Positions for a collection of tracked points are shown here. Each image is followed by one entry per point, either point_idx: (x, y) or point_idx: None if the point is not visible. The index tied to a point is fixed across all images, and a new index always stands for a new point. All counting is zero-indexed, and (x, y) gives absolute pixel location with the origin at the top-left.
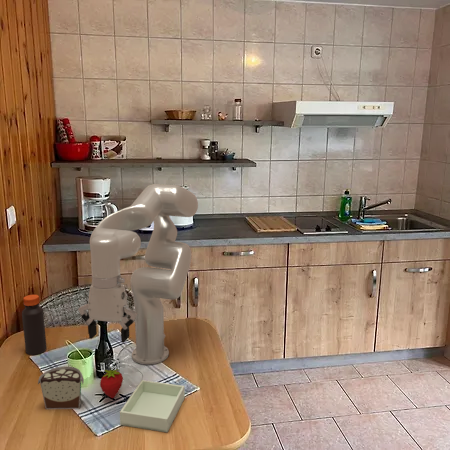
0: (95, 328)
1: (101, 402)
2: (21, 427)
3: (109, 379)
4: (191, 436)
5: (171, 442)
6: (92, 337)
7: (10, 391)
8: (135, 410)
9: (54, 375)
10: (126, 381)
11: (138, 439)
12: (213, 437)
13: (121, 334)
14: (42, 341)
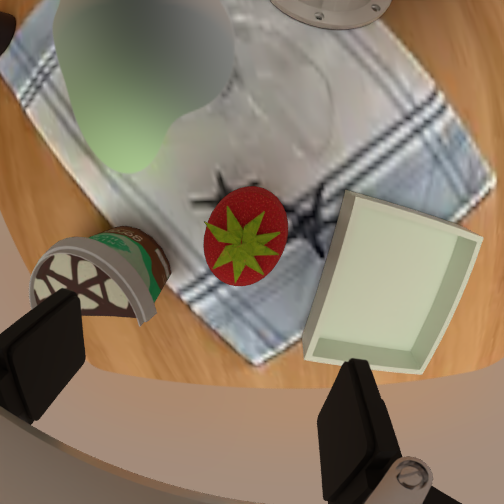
0: (49, 339)
1: None
2: (85, 328)
3: (242, 273)
4: (451, 356)
5: (413, 374)
6: (83, 354)
7: (6, 206)
8: (337, 292)
9: (56, 288)
10: (277, 125)
11: None
12: (483, 353)
13: (324, 468)
14: None
